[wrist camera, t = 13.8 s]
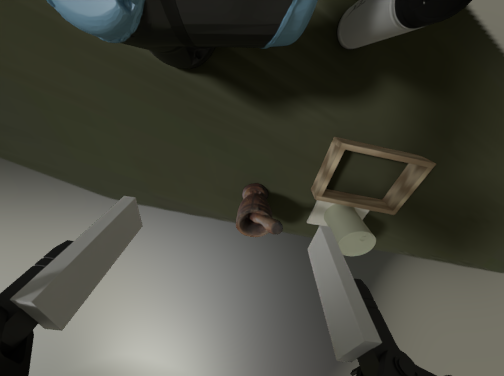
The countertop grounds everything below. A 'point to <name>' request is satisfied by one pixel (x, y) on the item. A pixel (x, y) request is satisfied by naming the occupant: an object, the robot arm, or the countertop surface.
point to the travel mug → (391, 19)
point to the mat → (319, 210)
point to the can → (349, 230)
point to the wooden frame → (388, 204)
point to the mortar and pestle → (256, 213)
